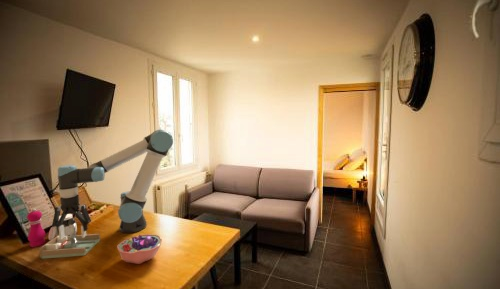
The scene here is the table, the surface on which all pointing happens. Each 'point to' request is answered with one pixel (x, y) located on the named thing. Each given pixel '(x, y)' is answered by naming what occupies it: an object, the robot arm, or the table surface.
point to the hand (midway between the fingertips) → (73, 237)
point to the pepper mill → (35, 229)
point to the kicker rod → (71, 236)
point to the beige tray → (85, 246)
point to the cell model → (139, 248)
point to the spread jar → (66, 227)
